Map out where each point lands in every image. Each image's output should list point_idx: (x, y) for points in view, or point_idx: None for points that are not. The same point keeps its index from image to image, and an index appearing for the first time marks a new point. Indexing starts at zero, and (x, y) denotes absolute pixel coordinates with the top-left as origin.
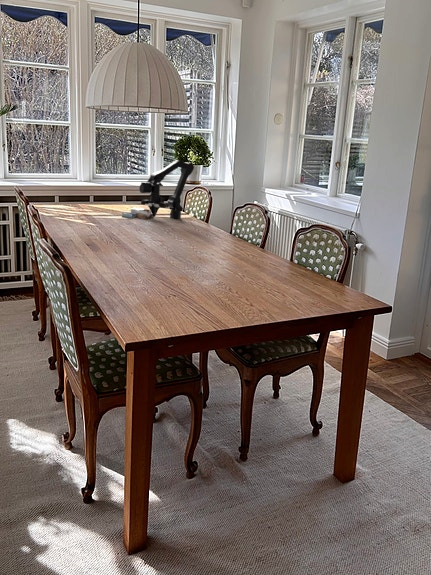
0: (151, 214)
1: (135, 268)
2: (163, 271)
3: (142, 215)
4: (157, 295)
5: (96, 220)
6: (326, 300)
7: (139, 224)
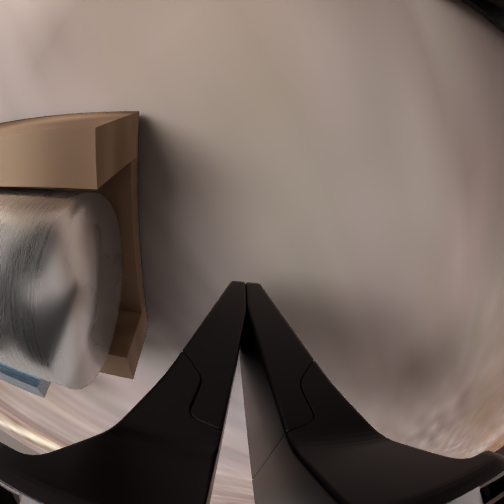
0: (79, 184)
1: None
2: None
3: None
4: None
5: (40, 425)
6: None
7: (244, 440)
